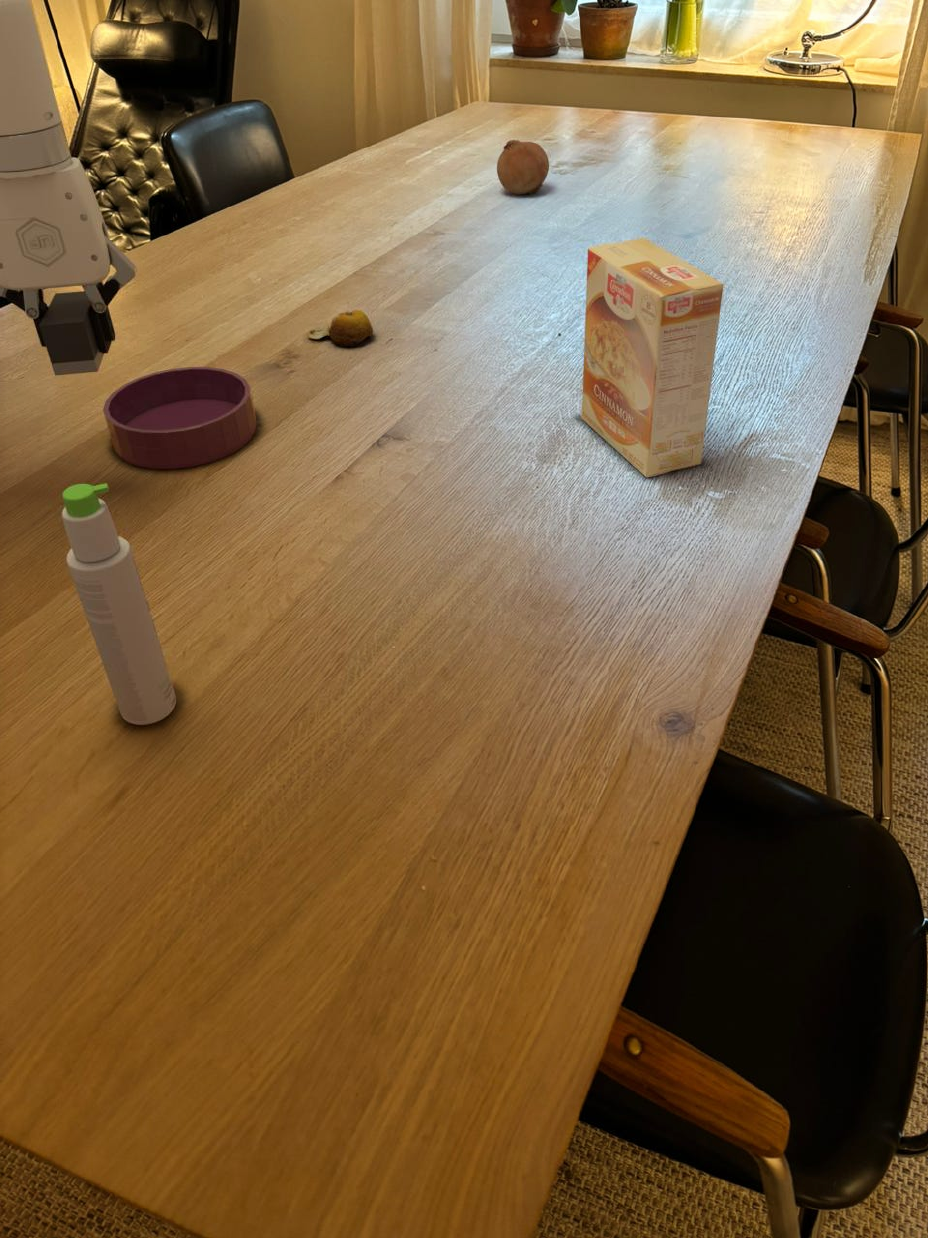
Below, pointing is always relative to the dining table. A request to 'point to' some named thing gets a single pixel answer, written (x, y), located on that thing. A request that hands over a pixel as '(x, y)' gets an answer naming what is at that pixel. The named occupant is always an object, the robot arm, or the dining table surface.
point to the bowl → (181, 417)
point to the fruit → (346, 329)
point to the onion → (522, 167)
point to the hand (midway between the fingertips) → (81, 348)
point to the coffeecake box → (649, 353)
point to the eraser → (70, 334)
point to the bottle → (116, 607)
